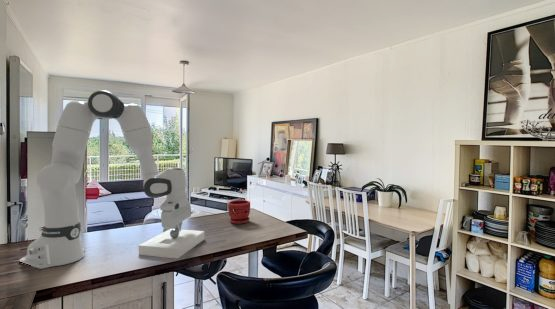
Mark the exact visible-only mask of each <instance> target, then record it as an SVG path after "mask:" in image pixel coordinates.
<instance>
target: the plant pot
mask: <svg viewBox="0 0 555 309" xmlns="http://www.w3.org/2000/svg"><path fill="white" fill-rule="evenodd" d="M227 211H228V215H229V221H230V223H232V224H238V225H241V224H242V225H243V224H247V223H248V222H249V221H250V217H249V216H250V213H251V201H249V200H243V199H242V200H241V199H239V200H232V201H228V203H227Z"/></svg>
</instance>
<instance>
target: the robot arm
mask: <svg viewBox="0 0 555 309" xmlns="http://www.w3.org/2000/svg"><path fill="white" fill-rule="evenodd" d="M112 119H114V120H116V121H117V123H118V124H119V126H120V128H121V129H120V130H121V132H122V135H123V138H124V139H125V142H126V144H127V145H128V148H129V149H130V150H131V151H132V152H133V153H134V154H135V156H136V157H137V159H138V161H139V164H140V167H141V170H142V173H143V181H142V187H143V192H144V194H145V195H146V196H147V197H148V198H152V199H158V198H161V197H166V199H165V200H164V202H163V203H162V204H161V205H160V208H159V210H160V211H161V213H160V214H161V215H160V217H161V218H160V222H161V227H162V228H163V229H164V228H171V227H173V226H174V228H175V229H177V230H178V231H179V232H180V231H181V229H182V226H183V221H185V220H186V219H189V218H190V217H191V216H192V206H191V202H189V199H188V196H187V191H186V188H187V178H186V177H187V176H186V172H185V170H184V169H182V168H180V167H177V166H176V167H175V166H174V167H173V166H167V167H166V169H164V170H163V171H161V172H160V171H159V170H158V168H157V164H156V162H155V158H154V156H153V155H154V154H153V145H154V141H153V140H154V139H153V138H154V137H153V133H152V129H151V125H150V123H149V120H148V118H147V116H146V113H145V112H144V110H143V108H142V106H140V105H139V104H136V103H127V104H126V103H124V102H123V101H122V100H121V99H119V98H118V96H117V95H115V94H114V93H112V92H111V91H108V90H104V89H102V90H101V89H100V90H97V91H94V92H92V93H91V94H90V95H89V97H88V99H87V102H86V101H85V102H83V101H78V100H75V101H70V102H68V103H66V105H65V107H64V109H63V110H62V113H61V114H60V117H59V120H58V124H57V126H56V131H55V134H54V137H53V141H52V145H51V146H52V154H51V155H52V156H51V163H50V164H47V165H45V166H43V168H42V169H41V170H40V171H38V174H37V176H36V183H37V184H36V185H37V186H38V187H39V190H40V195H41V199H42V202H43V207H44V208H43V209H44V226H42V227H39V231H42V232H41V233H40V234H41V235H40V236H39V237H38V238H36V239H35V240H33V241H32V242H31V243H30V244H29V245H28V246H27V249H26V250H27V251H26V255H25V256H23V257H21V258H19V259H18V262H19V261H20V262H23V263H26V264H29V265H31V266H30V267H32V268H37V269H39V270H41V269H47V268H50V267H57V266H63V265H69V264H72V263H74V262H78V261H79V260H81V259H83V258H84V257H85V255H86V254H85V248H84V245H83V238H82V234H81V231H82V230H81V229H82V226H81V221H80V205H79V204H80V203H79V201H78V197H77V192H76V185H77V184H78V183H79V182H80V180H81V178H82V172H83V169H84V161H85V154H86V150H87V146H88V143H89V138H90V135H91V131H92V128H93V125H94V123H95V121H96V120H112ZM23 263H22V264H23ZM26 264H25V265H26ZM29 265H28V266H29Z"/></svg>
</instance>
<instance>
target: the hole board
mask: <svg viewBox="0 0 555 309" xmlns="http://www.w3.org/2000/svg"><path fill="white" fill-rule="evenodd" d="M171 230H173V229H169V230H167V231H162V232H161V233H160V234H157V235H156V236H154V237H152V238H150V239H148V240H146V241H143V242H142V243H140V244H138V256H139V255H140V256H148V257H157V258H158V257H159V258H165V259H166V258H168V259H179V258H181V257H183V255H185V254H186V253H188V252H189V251H190V250H192V249H193V248H194V247H195V246H197V245H199V244H200V243H201V242H203V241H204V240H205V231H204V230H196V229H195V230H193V229H182V228H181V231H180V232H179V236H178V237H177V238H172V237H171V236H170V232H171Z"/></svg>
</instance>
